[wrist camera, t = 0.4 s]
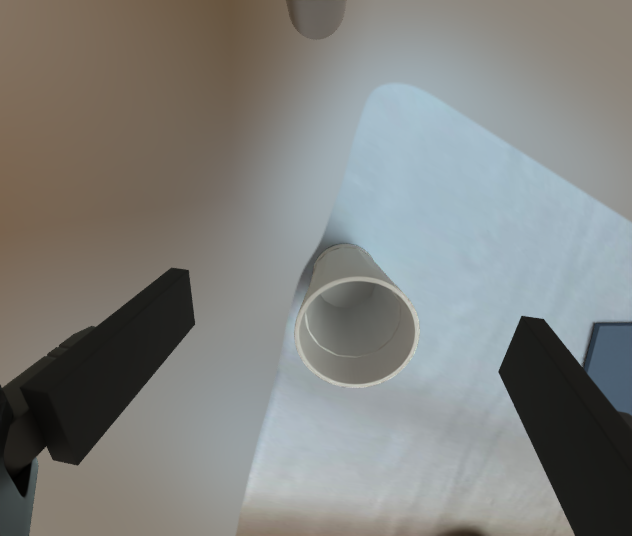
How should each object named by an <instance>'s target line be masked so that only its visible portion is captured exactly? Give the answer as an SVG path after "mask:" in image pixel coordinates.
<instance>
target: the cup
mask: <svg viewBox="0 0 632 536" xmlns="http://www.w3.org/2000/svg"><path fill="white" fill-rule="evenodd" d="M419 335H420V327H419V320H418V316H417V313H416V310H415V308H414V306H413V305H412V303H411V302H410V300H409V299H408V298H407V296H406V295H405V294H404V293H403V292H402V291H401V290H400V289H399V288H398V287H397V286H396V285H395V284H394V283H393V282H392V281H391V280H390V279H389V277H388V276H387V275H386V274H385V273H384V272H383V271H382V270H381V268H380V267H379V266H378V265H377V264H376V263H375V262H374V260H373V258H372V257H371V256H370V254H369V253H368V252H367V251H365V250H364V249H362V248H361V247H358V246H356V245H352V244H339V245H335V246H332V247H330V248H328V249H327V250H325V251H324V252H323V253H322V254H321V255H320V256H319V257H318V259H317V260H316V262H315V264H314V268H313V275H312V279H311V282H310V285H309V288H308V291H307V293H306V295H305V297H304V300H303V303H302V305H301V308H300V311H299V313H298V316H297V319H296V323H295V330H294V337H295V344H296V348H297V351H298V353H299V355H300V357H301V359H302V361H303V362H304V364H305V365H306V366H307V367H308V368H309V369H310V370H311V371H312V372H313V373H314V374H315V375H316V376H318V377H319V378H321V379H323V380H325V381H327V382H329V383H331V384H334V385H337V386H342V387H348V388H362V387H369V386H373V385H377V384H380V383H382V382H385V381H387V380H389V379H390V378H392V377H394V376H395V375H396V374H398V373H399V372H400V371H401V370H402V369H403V368H404V367H405V366H406V365H407V364H408V363H409V361H410V360H411V358H412V357H413V355H414V353H415V351H416V348H417V345H418V341H419Z"/></svg>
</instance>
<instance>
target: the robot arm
mask: <svg viewBox="0 0 632 536" xmlns="http://www.w3.org/2000/svg"><path fill="white" fill-rule="evenodd" d="M194 325H195V319H194V311H193V303H192V295H191V286H190V278H189V270H184V269H177V268H171V269H169V270H168V271H167V272H165V273H164V274H163V275H162V276H160V277H159V278H158V279H157V280H155V281H154V282H153V283H151V284H150V285H149V286H148V287H146V288H145V289H144V290H142V291H141V292H140V293H139V294H137V295H136V296H135V297H134V298H132V299H131V300H130V301H129V302H127V303H126V304H125V305H123V306H122V307H121V308H120V309H119V310H117V311H116V312H115V313H113V314H112V315H111V316H109V317H108V318H107V319H106V320H104V321H103V322H102V323H101V324H99V325H98V326H97V327H94V326H91V327H88V328H86V329H84V330H82V331H80V332H78V333H75V334H73V335H72V336H71V337H70V338H68V339H67V340H65V341H64V342H63V343H61V344H60V345H59V347H56V348H55V349H54V350H52V351H51V352H49V353H48V354H47V356H44V357H43V358H41V359H40V360H39V361H37V362H36V363H35V364H33V365H32V366H31V367H29V368H28V369H27V370H25V371H24V372H23V373H21V374H20V375H19V376H17V377H16V378H15V379H13V380H12V381H11V382H9V383H8V384H7V385H6V386H4V387H3V388H1V385H0V536H29V532H30V524H31V517H32V510H33V503H34V494H35V488H36V480H37V473H38V461H37V458H36V456H37V455H38V454H39V453H40V452H41V451H42V450H43V449H44V448H45V447H46V446H47V448H48V451H49V453H50V455H51V457H52V459H53V460H55V461H59V462H64V463H69V464H73V465H79V464H80V462H81V461H82V460H83V459H84V457H85V456H86V455H87V454H88V453H89V452H90V450H91V449H92V448H93V446H94V445H95V444H96V443H97V442H98V441H99V439H100V438H101V437H102V436H103V435H104V433H105V432H106V431H107V430H108V429H109V427H110V426H111V425H112V424H113V423H114V421H115V420H116V419H117V418H118V417H119V415H120V414H121V413H122V412H123V410H124V409H125V408H126V407H127V406H128V405H129V403H130V402H131V401H132V400H133V398H134V397H135V396H136V395H137V394H138V392H139V391H140V390H141V389H142V388H143V386H144V385H145V384H146V383H147V382H148V380H149V379H150V378H151V377H152V376H153V374H154V373H155V372H156V371H157V370H158V368H159V367H160V366H161V365H162V363H163V362H164V361H165V360H166V359H167V357H168V356H169V355H170V354H171V353H172V351H173V350H174V349H175V348H176V347H177V345H178V344H179V343H180V342H181V341H182V339H183V338H184V337H185V336H186V334H187V333H188V332H189V331H190V329H191V328H192V327H193V326H194ZM499 374H500V376H501V378H502V381H503V383H504V385H505V387H506V389H507V391H508V393H509V396H510V398H511V400H512V402H513V404H514V406H515V408H516V410H517V413H518V415H519V417H520V419H521V421H522V423H523V425H524V428H525V430H526V432H527V434H528V436H529V438H530V440H531V442H532V445H533V447H534V449H535V451H536V453H537V455H538V457H539V460H540V462H541V464H542V466H543V468H544V470H545V472H546V474H547V477H548V479H549V481H550V483H551V485H552V487H553V489H554V492H555V494H556V496H557V498H558V500H559V502H560V504H561V506H562V509H563V511H564V513H565V515H566V517H567V519H568V521H569V524H570V526H571V528H572V530H573V532H574V534H575V536H632V416H631V415H630V414H629V413H626V412H620V411H617V410H616V409H615V408H614V406H613V405H612V404H611V403H610V401H609V400H608V399H607V398H606V396H605V395H604V394H603V393H602V391H601V390H600V389H599V388H598V386H597V385H596V384H595V383H594V381H593V380H592V379H591V378H590V376H589V375H588V374H587V373H586V371H585V370H584V369H583V368H582V366H581V365H580V364H579V363H578V361H577V360H576V359H575V358H574V356H573V355H572V354H571V353H570V351H569V350H568V349H567V348H566V346H565V345H564V344H563V343H562V341H561V340H560V339H559V338H558V336H557V335H556V334H555V333H554V331H553V330H552V329H551V328H550V326H549V325H548V324H547V323H546V321H545V320H544V319H540V318H533V317H526V316H521V319H520V321H519V324H518V326H517V328H516V331H515V333H514V336H513V338H512V340H511V343H510V345H509V348H508V350H507V352H506V355H505V357H504V360H503V362H502V364H501V367H500V369H499Z"/></svg>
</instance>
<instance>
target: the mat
mask: <svg viewBox="0 0 632 536" xmlns="http://www.w3.org/2000/svg"><path fill="white" fill-rule="evenodd" d="M584 370H585V371H586V373H587V374H588V375H589V376H590V378H591V379H592V380H593V381H594V383H595V384H596V385H597V386H598V388H599V389H600V390H601V391H602V393H603V394H604V395H605V396H606V398H607V399H608V400H609V401H610V403H611V404H612V405H613V406H614V408H615V409H616V410H617V411H620V412H626V413H629V414H630V415H631V416H632V323H596V324H595V327H594V331H593V335H592V339H591V342H590V346H589V350H588V354H587V358H586V362H585V366H584Z"/></svg>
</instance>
